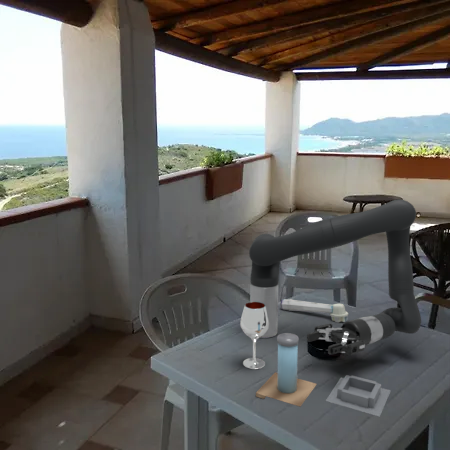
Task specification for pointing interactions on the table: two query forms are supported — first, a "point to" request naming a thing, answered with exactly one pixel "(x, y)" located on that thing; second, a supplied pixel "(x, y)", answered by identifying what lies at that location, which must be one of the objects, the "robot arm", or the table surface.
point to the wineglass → (254, 329)
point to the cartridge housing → (359, 395)
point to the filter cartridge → (287, 362)
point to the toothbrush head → (316, 308)
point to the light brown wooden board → (292, 398)
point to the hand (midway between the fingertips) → (318, 344)
